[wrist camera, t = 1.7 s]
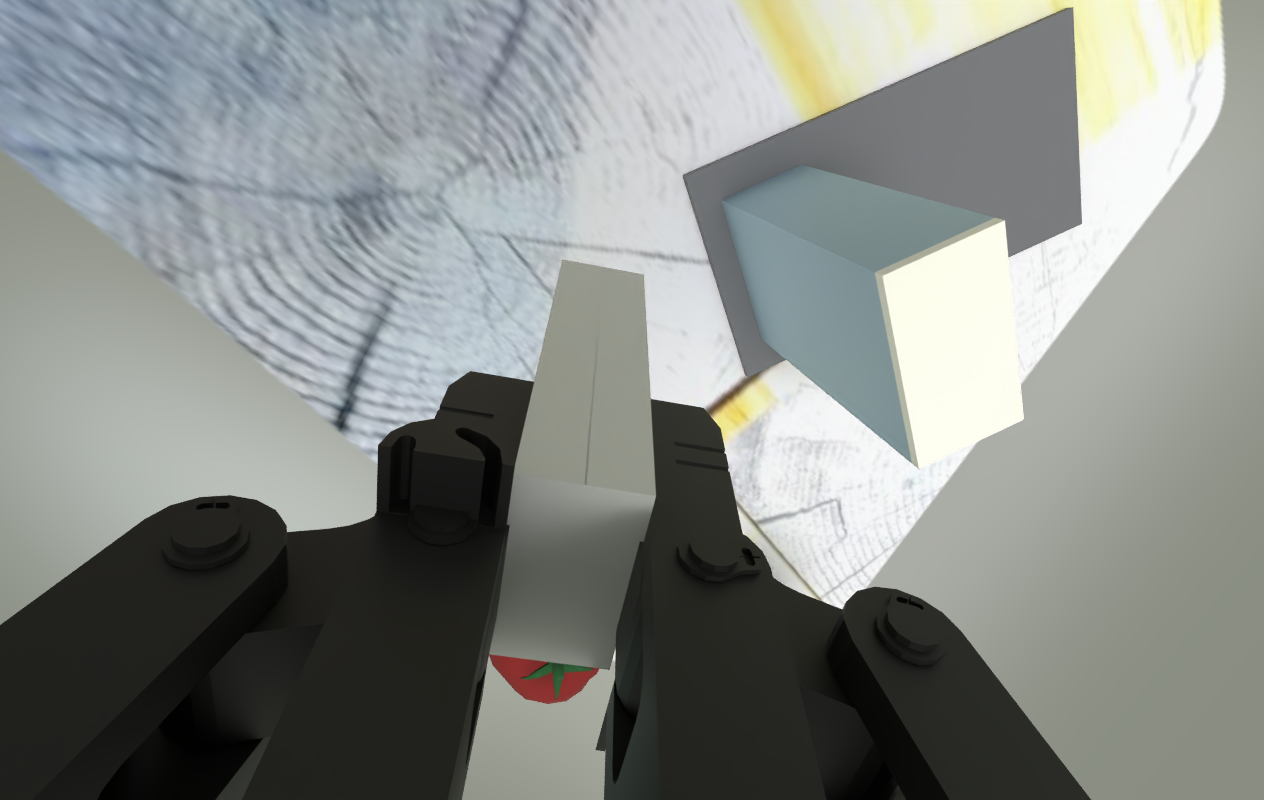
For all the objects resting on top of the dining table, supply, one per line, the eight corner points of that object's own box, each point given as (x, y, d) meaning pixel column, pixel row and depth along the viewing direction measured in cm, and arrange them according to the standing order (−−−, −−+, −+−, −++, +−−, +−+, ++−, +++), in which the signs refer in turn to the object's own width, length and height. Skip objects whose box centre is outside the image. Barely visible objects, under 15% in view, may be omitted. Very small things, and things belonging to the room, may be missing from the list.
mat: (745, 374, 45) (747, 377, 45) (682, 175, 39) (684, 176, 39) (1076, 222, 47) (1081, 223, 47) (1067, 7, 41) (1073, 7, 40)
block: (761, 339, 44) (919, 469, 30) (720, 200, 40) (882, 276, 26) (834, 306, 44) (1023, 419, 30) (801, 164, 40) (1004, 220, 26)
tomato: (466, 579, 46) (473, 661, 40) (583, 534, 47) (608, 607, 41) (507, 663, 50) (519, 750, 44) (615, 620, 51) (642, 699, 45)
